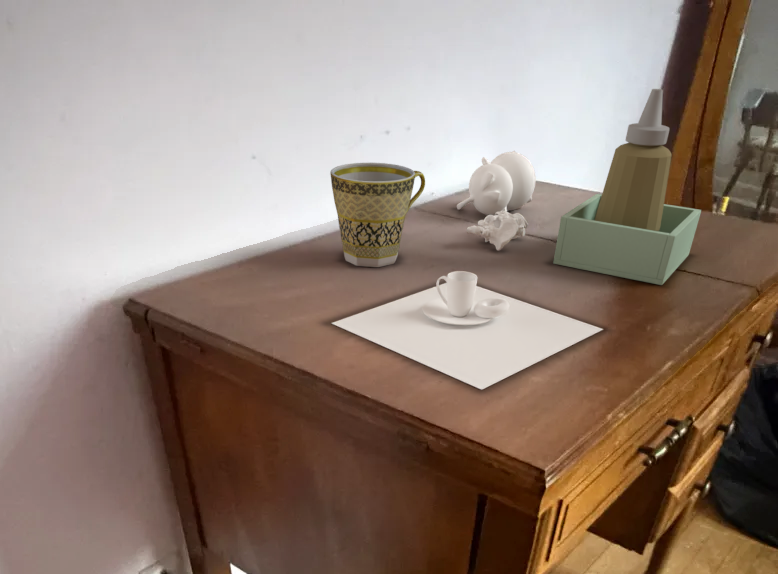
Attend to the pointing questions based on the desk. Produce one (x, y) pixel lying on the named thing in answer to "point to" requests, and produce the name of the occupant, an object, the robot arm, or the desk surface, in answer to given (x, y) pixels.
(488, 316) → the teacup and saucer
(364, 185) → the ceramic cup
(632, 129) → the squeeze bottle
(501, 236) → the anatomical pelvis
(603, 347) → the desk surface
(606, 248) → the bin
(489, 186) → the cat figurine
